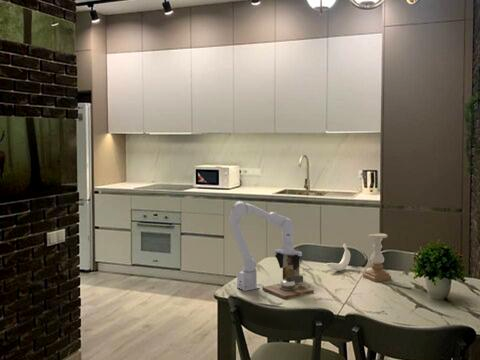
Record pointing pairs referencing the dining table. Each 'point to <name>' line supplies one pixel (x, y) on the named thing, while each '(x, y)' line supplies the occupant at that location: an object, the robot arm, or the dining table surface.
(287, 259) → the coffee box
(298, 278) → the steel cap
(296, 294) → the post base
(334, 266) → the banana
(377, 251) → the candle holder
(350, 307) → the dining table surface
